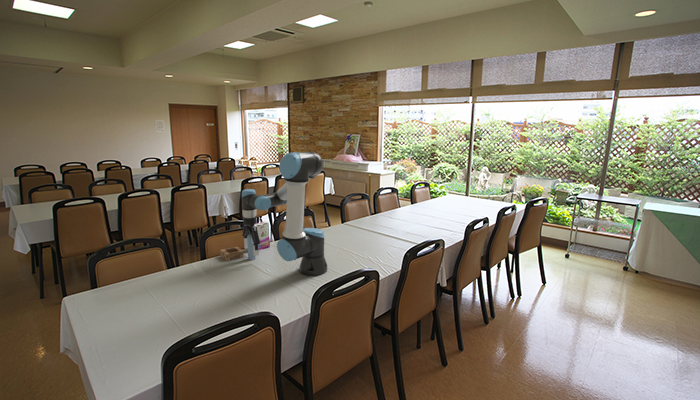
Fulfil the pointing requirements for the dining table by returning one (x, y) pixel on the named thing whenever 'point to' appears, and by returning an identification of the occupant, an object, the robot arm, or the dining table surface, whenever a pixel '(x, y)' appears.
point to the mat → (237, 259)
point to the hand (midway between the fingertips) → (251, 251)
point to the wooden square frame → (232, 253)
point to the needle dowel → (250, 248)
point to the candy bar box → (263, 234)
